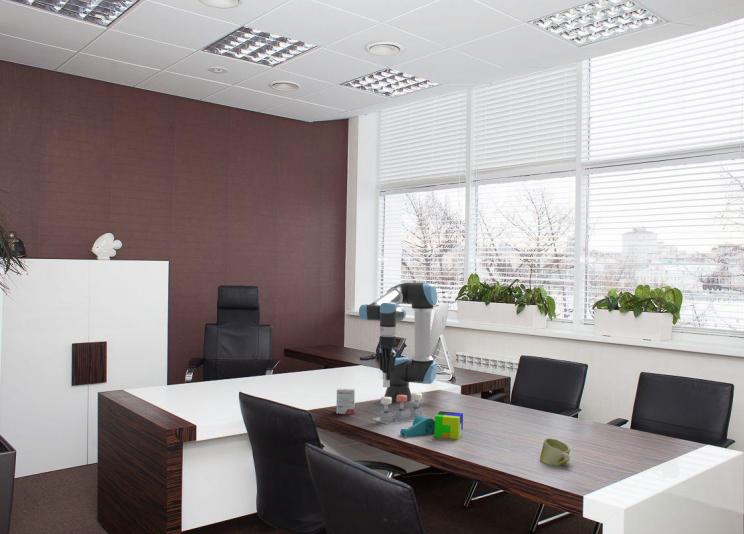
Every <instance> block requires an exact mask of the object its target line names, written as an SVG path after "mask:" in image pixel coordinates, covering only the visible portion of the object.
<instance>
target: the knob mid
mask: <svg viewBox="0 0 744 534" xmlns="http://www.w3.org/2000/svg"><path fill="white" fill-rule="evenodd" d="M396 401H397V402H400V403H399V409H400V410H403V409H404V404H405V403H408V402H407V395H397V396H396Z"/></svg>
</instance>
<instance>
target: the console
mask: <svg viewBox="0 0 744 534" xmlns="http://www.w3.org/2000/svg"><path fill="white" fill-rule="evenodd" d="M419 415H422V416H423V407H420V406H418V408H415V406H412V407H410V412H408V409H405V408H403V410H400V408H397V409H395V414H393V412H392V411H389V410H388V412H384V410H383V411H379V417H375V418H374V417H373V418H372V420H373V421H375V422H376V421H377V422H379V423H381V424H385V425H387V426H392V425H398V424H399V425H400V424H406V423H411V422H412V423H413V421H414V419H415V418H416V417H417V416H419Z"/></svg>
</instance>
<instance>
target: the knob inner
mask: <svg viewBox="0 0 744 534" xmlns="http://www.w3.org/2000/svg"><path fill="white" fill-rule="evenodd" d="M411 399H412V401H414V407H415V408H418V407H419V401H423V394H422V393H420V392H411Z"/></svg>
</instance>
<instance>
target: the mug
mask: <svg viewBox="0 0 744 534" xmlns="http://www.w3.org/2000/svg"><path fill="white" fill-rule="evenodd" d="M570 449H571V448H570V447H569V445H568V444H566V443H565V442H562V441H560V440H558V439H556V438H548V437H547V438H546V439H544V441H543V444H542V448H541V453H540V457H539V461H540V462H541V463H543V464H546V465H554V466H563V465H565V464H566V463H569V462H570V458H571V457H570V451H571V450H570Z"/></svg>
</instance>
